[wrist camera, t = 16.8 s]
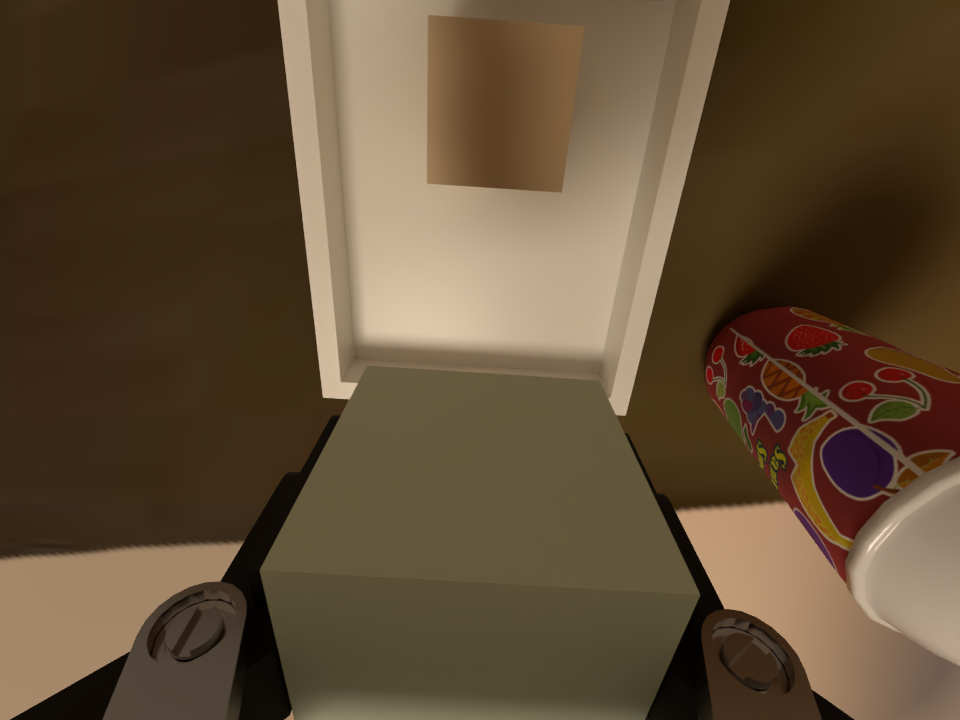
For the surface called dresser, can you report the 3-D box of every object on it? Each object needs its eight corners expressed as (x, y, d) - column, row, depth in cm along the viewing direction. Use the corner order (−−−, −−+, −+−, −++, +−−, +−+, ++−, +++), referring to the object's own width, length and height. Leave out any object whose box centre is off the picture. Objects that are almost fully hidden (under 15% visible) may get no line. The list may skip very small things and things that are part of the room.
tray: (699, -21, 18) (743, -55, 15) (609, 382, 27) (625, 415, 23) (305, -51, 18) (267, -92, 15) (342, 366, 26) (323, 397, 23)
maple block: (560, 53, 19) (584, 26, 14) (545, 181, 21) (561, 192, 16) (442, 45, 18) (427, 15, 14) (439, 174, 21) (426, 183, 16)
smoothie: (651, 375, 26) (1001, 879, 8) (756, 255, 23) (1698, 661, 5) (753, 434, 28) (1219, 951, 10) (864, 330, 25) (1838, 825, 7)
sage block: (599, 380, 10) (700, 594, 5) (564, 543, 12) (612, 792, 7) (367, 365, 9) (259, 570, 5) (376, 533, 12) (307, 778, 7)
